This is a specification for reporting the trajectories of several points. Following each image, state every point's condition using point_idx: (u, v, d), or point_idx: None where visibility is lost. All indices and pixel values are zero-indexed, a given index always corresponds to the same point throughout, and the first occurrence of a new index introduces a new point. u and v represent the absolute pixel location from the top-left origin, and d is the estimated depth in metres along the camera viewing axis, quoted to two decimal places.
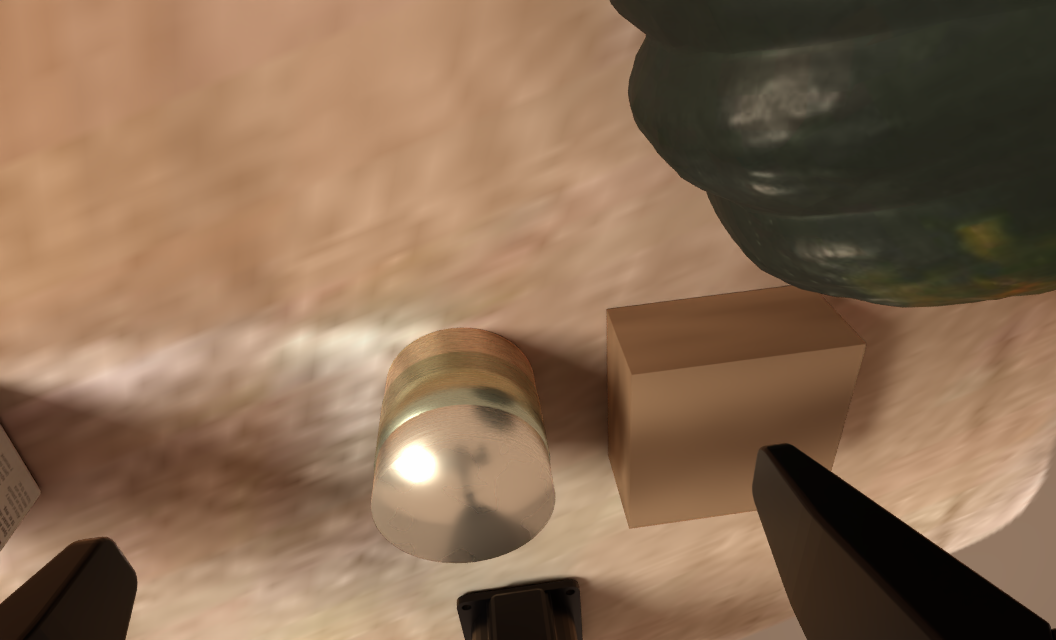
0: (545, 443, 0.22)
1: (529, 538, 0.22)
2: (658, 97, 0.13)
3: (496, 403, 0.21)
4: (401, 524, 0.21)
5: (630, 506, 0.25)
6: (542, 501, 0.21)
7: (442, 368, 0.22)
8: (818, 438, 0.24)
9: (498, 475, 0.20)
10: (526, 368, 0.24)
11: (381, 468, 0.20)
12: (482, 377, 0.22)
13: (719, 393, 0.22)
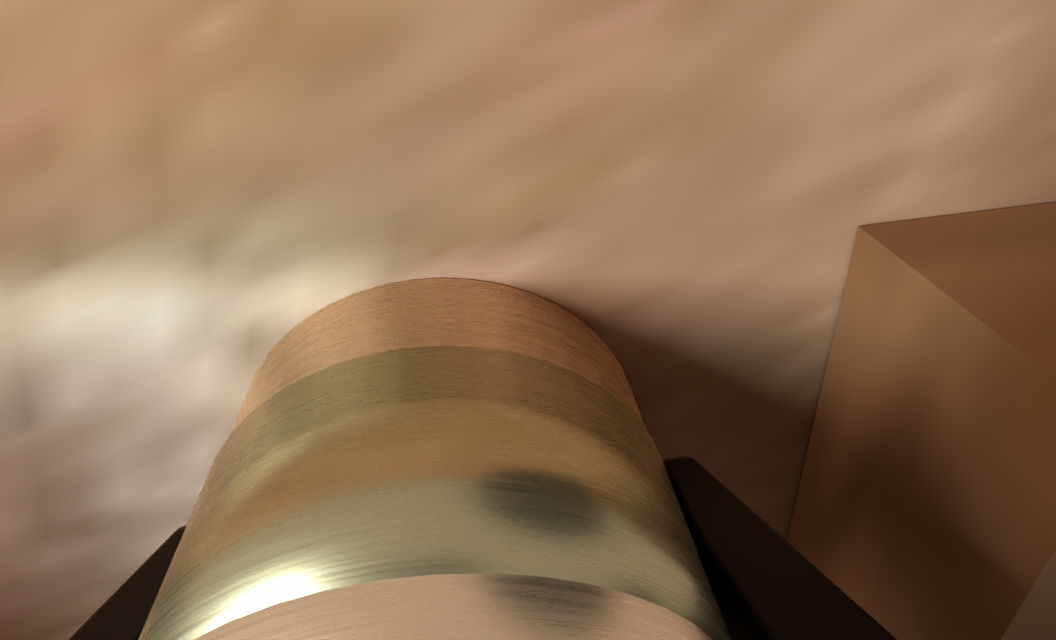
0: None
1: None
2: None
3: (577, 558, 0.05)
4: None
5: None
6: None
7: (369, 404, 0.06)
8: None
9: None
10: (630, 397, 0.08)
11: None
12: (512, 435, 0.06)
13: None
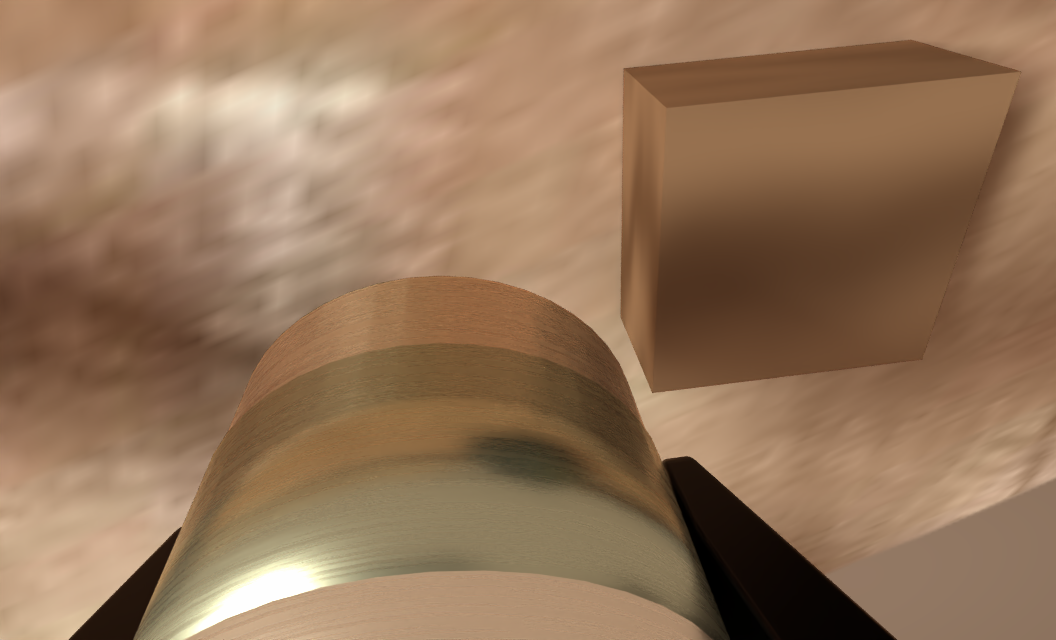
0: None
1: None
2: None
3: (573, 555, 0.05)
4: None
5: (655, 354, 0.17)
6: None
7: (366, 400, 0.06)
8: (929, 249, 0.16)
9: None
10: (628, 395, 0.08)
11: None
12: (508, 433, 0.06)
13: (796, 154, 0.14)
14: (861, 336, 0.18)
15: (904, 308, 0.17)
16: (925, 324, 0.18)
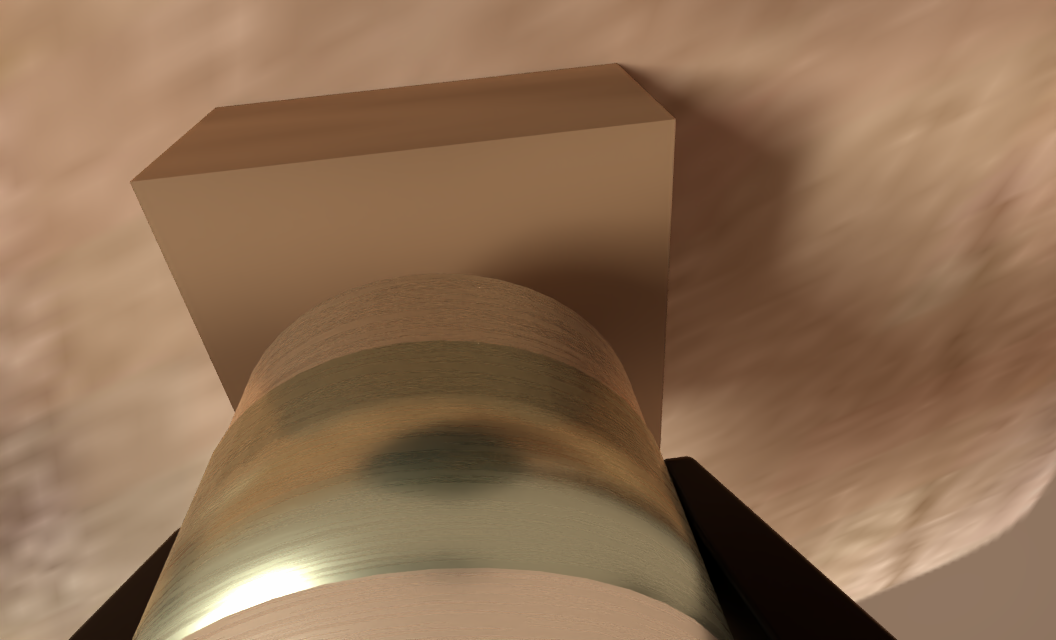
0: None
1: None
2: None
3: (576, 552, 0.05)
4: None
5: None
6: None
7: (366, 398, 0.06)
8: (618, 355, 0.12)
9: None
10: (630, 393, 0.08)
11: None
12: (510, 430, 0.06)
13: (366, 240, 0.10)
14: None
15: None
16: None
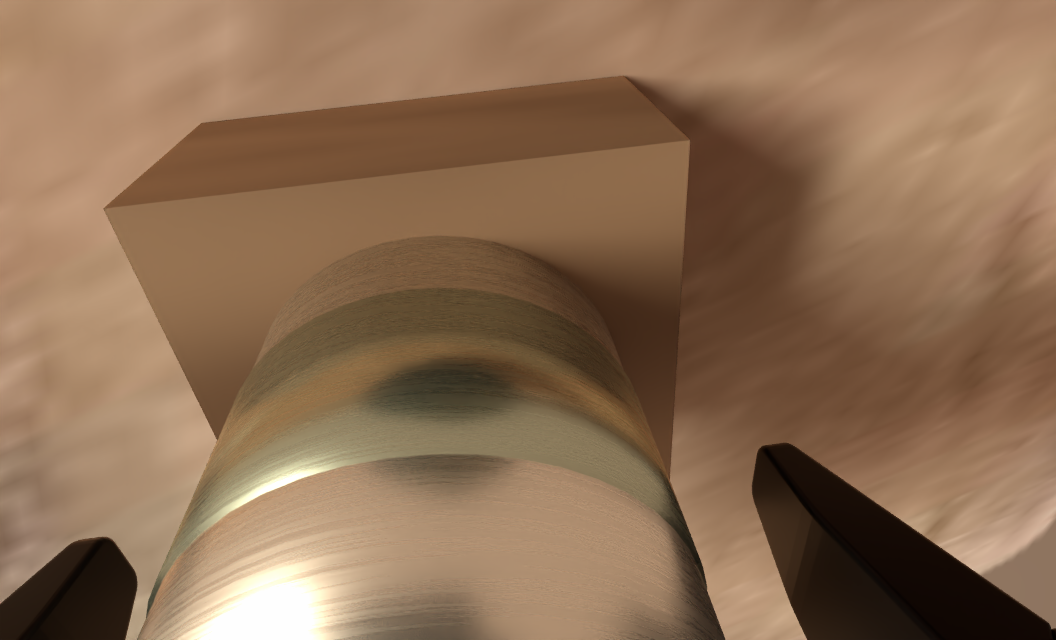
0: (701, 570, 0.07)
1: None
2: None
3: (553, 448, 0.06)
4: None
5: None
6: None
7: (376, 331, 0.07)
8: None
9: None
10: (610, 344, 0.09)
11: None
12: (500, 357, 0.07)
13: None
14: None
15: None
16: None
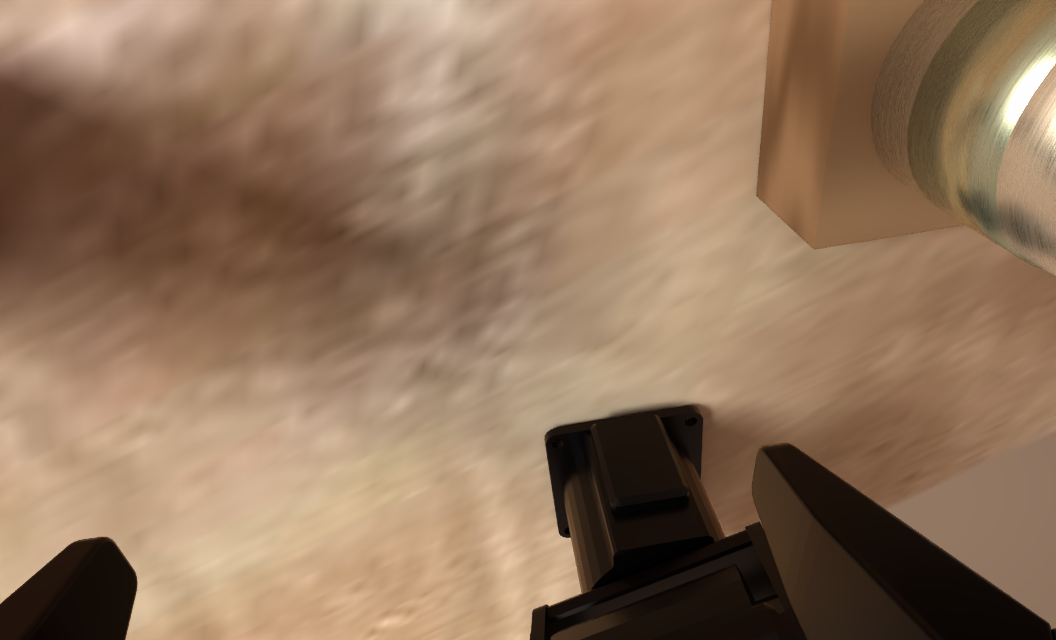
0: None
1: None
2: None
3: None
4: None
5: (821, 205, 0.17)
6: None
7: None
8: None
9: None
10: None
11: None
12: None
13: None
14: None
15: None
16: None
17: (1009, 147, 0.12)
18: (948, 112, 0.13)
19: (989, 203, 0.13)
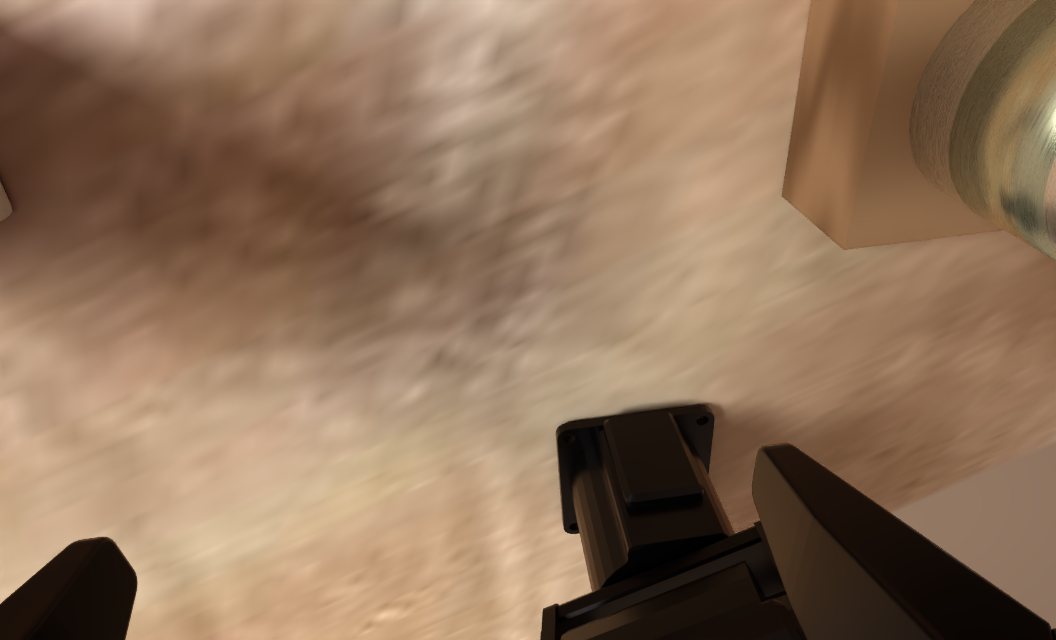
0: None
1: None
2: None
3: None
4: None
5: (854, 205, 0.17)
6: None
7: None
8: None
9: None
10: None
11: None
12: None
13: None
14: None
15: None
16: None
17: None
18: (996, 115, 0.13)
19: (1036, 206, 0.13)
